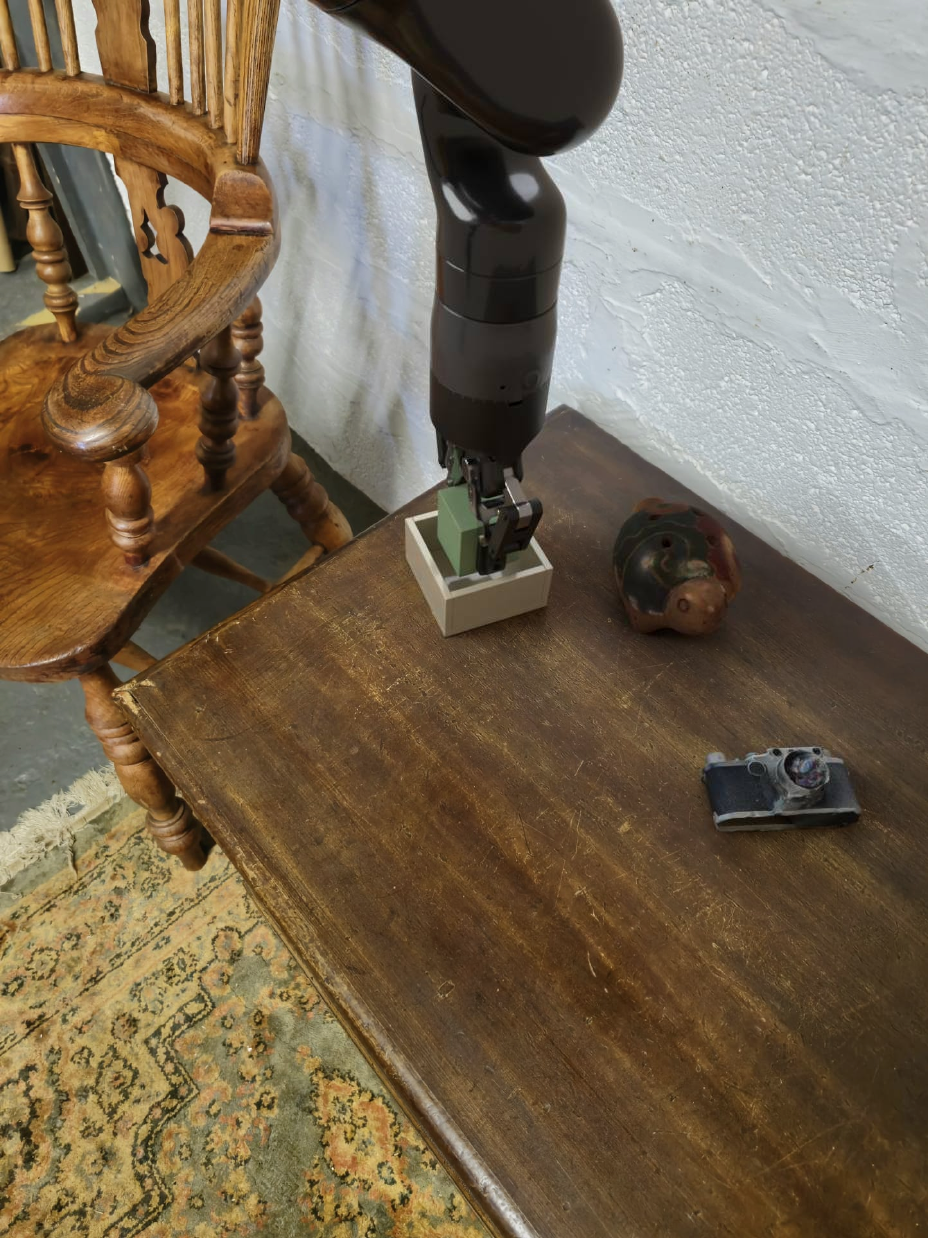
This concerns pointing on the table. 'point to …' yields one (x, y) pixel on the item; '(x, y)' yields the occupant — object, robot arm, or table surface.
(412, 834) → the table surface
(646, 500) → the decorative turtle
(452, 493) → the green box
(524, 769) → the table surface
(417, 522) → the open square box
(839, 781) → the camera
